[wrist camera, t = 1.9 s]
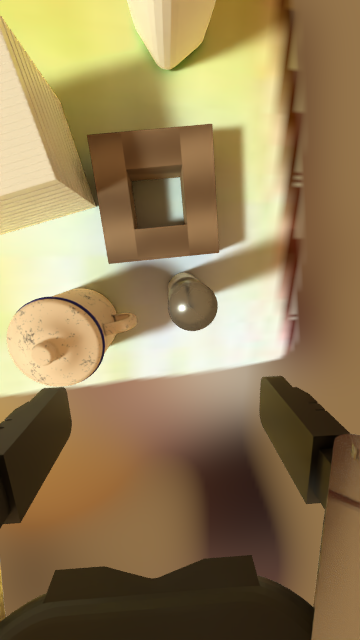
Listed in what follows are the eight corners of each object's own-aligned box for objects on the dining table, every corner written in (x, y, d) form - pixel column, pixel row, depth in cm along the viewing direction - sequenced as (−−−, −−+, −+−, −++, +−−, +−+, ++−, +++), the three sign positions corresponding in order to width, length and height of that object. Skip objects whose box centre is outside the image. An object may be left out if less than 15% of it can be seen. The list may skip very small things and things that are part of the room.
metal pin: (166, 274, 31) (165, 285, 19) (197, 270, 31) (216, 280, 19) (169, 305, 32) (171, 333, 20) (200, 301, 32) (218, 328, 20)
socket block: (98, 152, 27) (87, 135, 23) (205, 142, 27) (212, 123, 23) (116, 262, 30) (108, 263, 26) (212, 253, 30) (219, 252, 27)
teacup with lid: (62, 359, 33) (7, 412, 22) (39, 293, 31) (-35, 315, 19) (149, 342, 33) (139, 386, 22) (133, 275, 31) (113, 286, 19)
